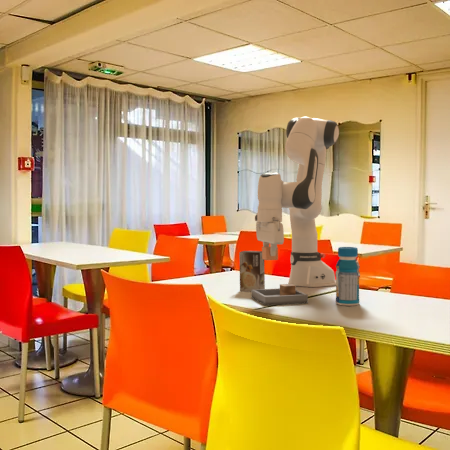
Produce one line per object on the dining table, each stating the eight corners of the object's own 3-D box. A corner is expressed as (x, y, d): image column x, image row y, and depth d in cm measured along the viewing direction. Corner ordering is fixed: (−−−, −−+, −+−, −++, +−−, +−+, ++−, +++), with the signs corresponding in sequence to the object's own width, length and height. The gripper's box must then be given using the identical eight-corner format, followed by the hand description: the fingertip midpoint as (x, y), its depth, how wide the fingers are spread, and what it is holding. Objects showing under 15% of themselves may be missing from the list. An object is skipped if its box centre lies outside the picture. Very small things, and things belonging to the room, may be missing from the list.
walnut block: (291, 295, 202) (291, 283, 202) (295, 297, 197) (295, 285, 197) (279, 296, 201) (279, 284, 200) (284, 298, 196) (284, 286, 196)
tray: (291, 295, 208) (291, 287, 208) (307, 303, 192) (307, 294, 192) (251, 297, 204) (251, 289, 204) (265, 305, 188) (265, 297, 188)
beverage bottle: (346, 307, 185) (346, 249, 184) (330, 303, 193) (330, 247, 192) (364, 304, 189) (365, 247, 188) (348, 300, 197) (349, 246, 196)
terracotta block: (273, 258, 199) (273, 246, 199) (277, 259, 195) (277, 247, 195) (262, 258, 198) (262, 246, 198) (266, 260, 194) (266, 247, 194)
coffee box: (265, 290, 221) (265, 251, 220) (260, 292, 215) (260, 252, 214) (244, 288, 224) (244, 250, 224) (239, 291, 218) (238, 251, 218)
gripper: (288, 217, 187) (288, 257, 187) (269, 216, 206) (269, 252, 207) (271, 218, 185) (271, 258, 186) (253, 216, 205) (253, 252, 206)
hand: (269, 255), depth 197 cm, fingers closed on terracotta block, 4 cm apart
